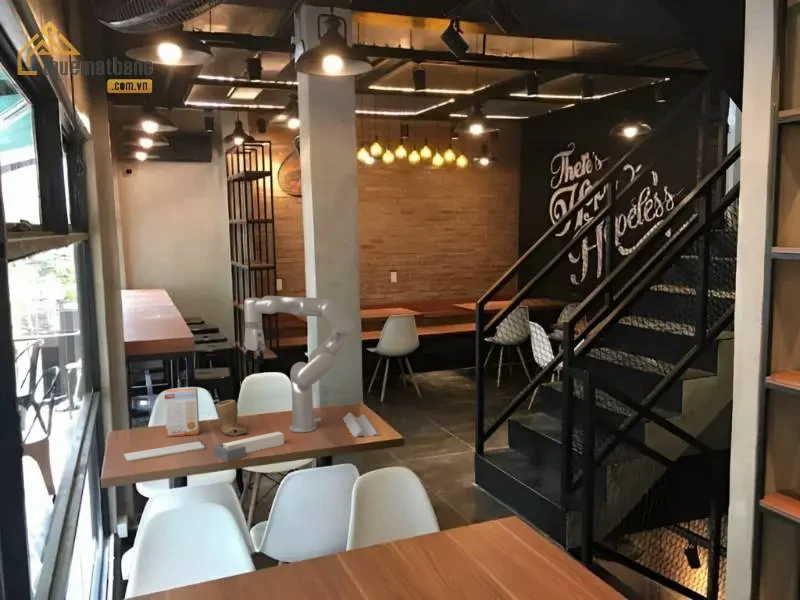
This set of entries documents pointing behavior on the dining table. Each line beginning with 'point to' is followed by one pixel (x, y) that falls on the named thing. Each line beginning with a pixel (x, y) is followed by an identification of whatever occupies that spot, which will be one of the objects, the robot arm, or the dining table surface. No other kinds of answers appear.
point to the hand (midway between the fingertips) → (254, 362)
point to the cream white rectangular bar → (257, 442)
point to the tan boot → (229, 418)
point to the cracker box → (181, 412)
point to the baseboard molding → (162, 451)
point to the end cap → (229, 452)
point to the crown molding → (359, 425)
